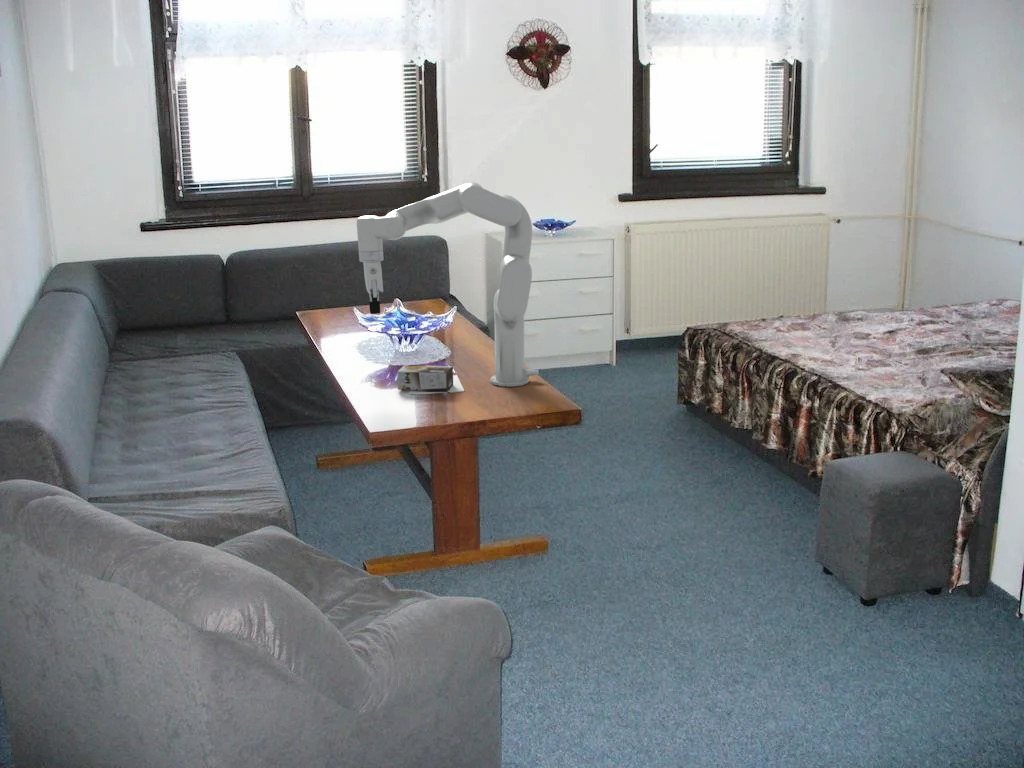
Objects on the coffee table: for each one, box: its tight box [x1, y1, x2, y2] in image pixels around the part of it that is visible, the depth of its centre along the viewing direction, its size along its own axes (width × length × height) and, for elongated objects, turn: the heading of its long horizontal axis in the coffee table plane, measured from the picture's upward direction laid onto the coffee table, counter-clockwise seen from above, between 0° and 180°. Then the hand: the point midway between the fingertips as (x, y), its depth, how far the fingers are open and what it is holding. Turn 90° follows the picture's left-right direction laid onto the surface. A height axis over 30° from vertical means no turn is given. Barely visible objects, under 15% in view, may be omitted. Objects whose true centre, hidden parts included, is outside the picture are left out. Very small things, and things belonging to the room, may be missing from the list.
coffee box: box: [396, 364, 454, 392], centre depth 352 cm, size 9×6×16 cm
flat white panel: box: [408, 374, 465, 395], centre depth 357 cm, size 17×18×1 cm
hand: (375, 313), depth 350 cm, fingers closed
